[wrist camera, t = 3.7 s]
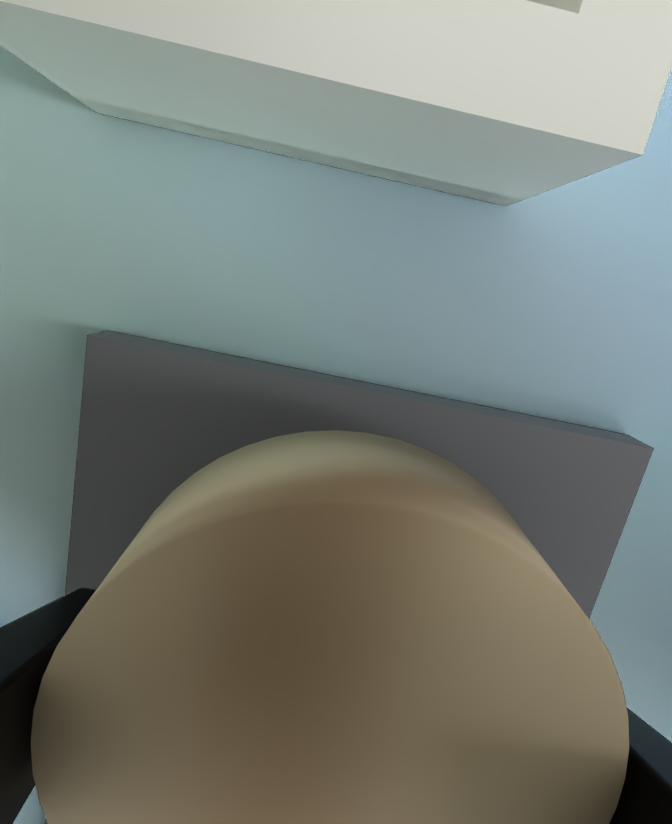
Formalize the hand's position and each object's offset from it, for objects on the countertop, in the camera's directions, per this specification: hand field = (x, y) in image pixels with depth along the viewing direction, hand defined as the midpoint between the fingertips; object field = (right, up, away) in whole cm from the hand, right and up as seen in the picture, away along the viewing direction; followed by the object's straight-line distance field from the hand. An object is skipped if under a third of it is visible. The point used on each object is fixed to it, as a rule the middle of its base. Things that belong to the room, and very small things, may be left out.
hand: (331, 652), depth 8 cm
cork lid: (0, 0, 0) cm, 0 cm away
